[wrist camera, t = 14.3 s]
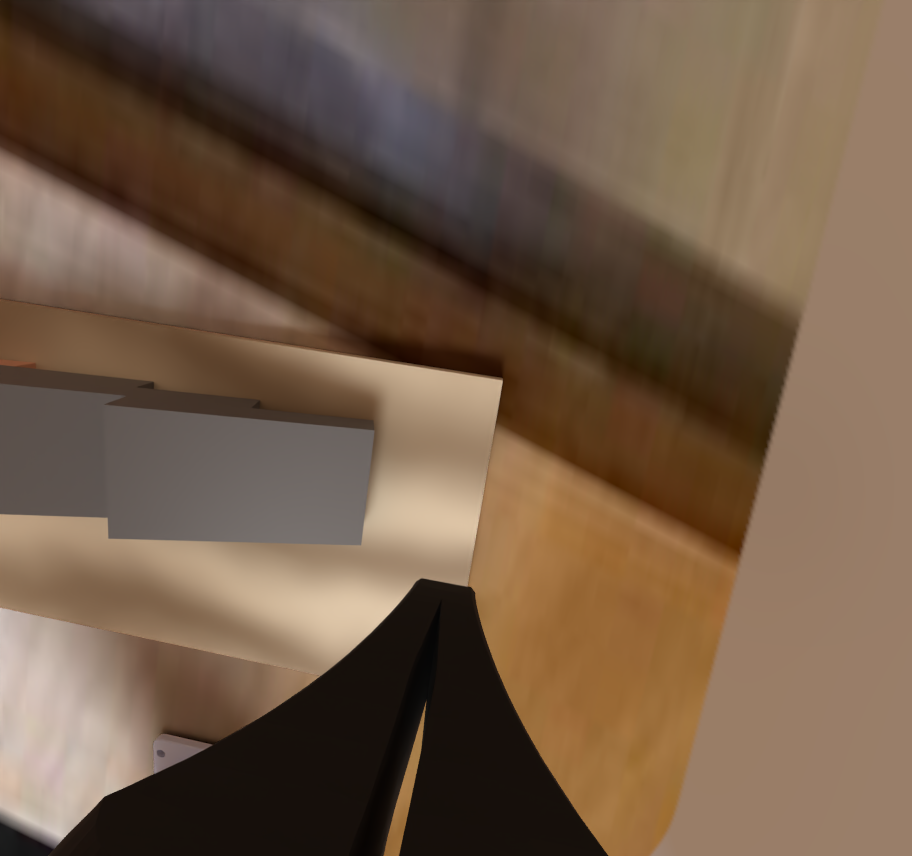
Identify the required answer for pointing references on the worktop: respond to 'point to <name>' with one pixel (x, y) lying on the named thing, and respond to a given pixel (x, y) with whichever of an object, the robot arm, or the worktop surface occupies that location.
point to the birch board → (259, 564)
